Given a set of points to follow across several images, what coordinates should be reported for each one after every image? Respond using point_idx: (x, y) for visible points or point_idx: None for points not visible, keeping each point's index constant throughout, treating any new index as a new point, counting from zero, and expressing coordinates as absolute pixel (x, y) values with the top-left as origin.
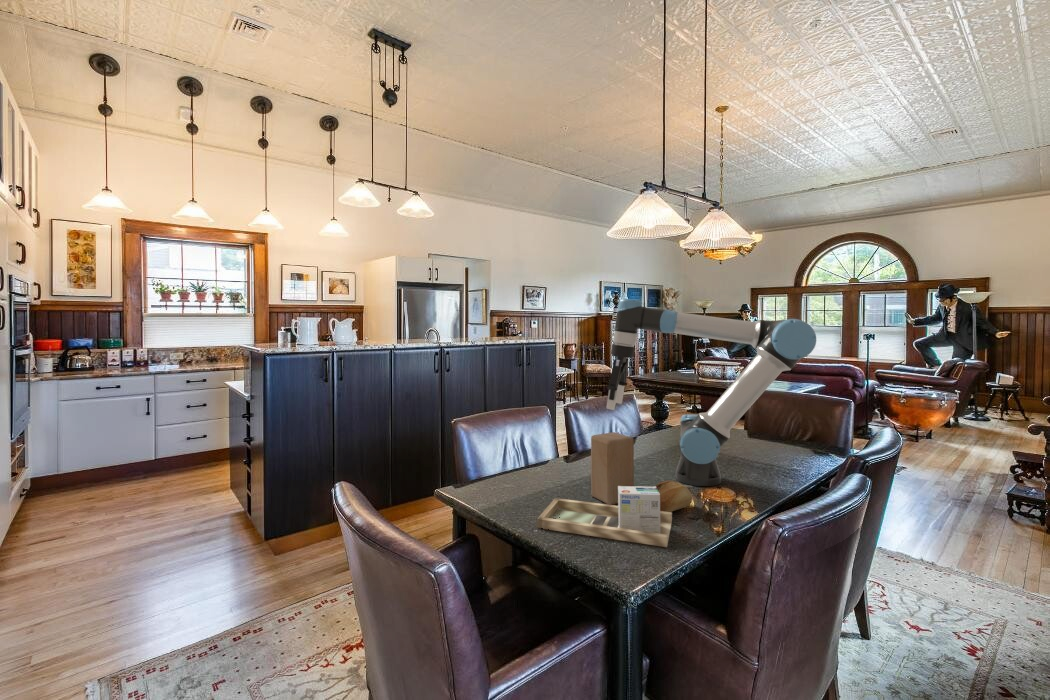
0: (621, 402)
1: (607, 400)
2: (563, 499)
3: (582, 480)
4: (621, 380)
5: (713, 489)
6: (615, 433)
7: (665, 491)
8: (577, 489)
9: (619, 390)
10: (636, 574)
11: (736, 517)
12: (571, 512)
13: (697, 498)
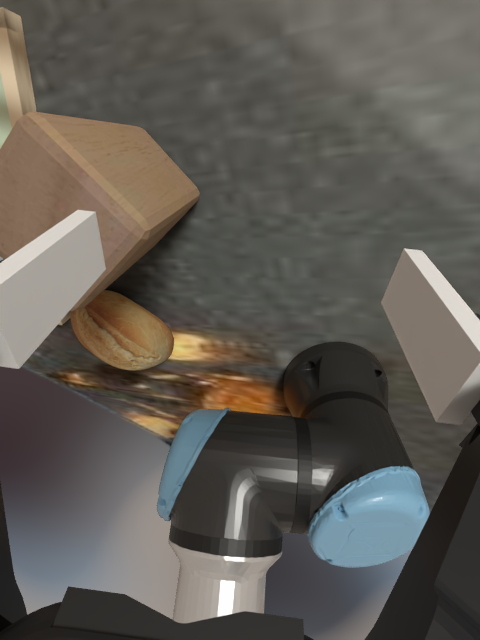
0: (386, 307)
1: (40, 236)
2: (5, 43)
3: (281, 65)
4: (471, 454)
5: (270, 400)
6: (105, 240)
7: (79, 330)
8: (186, 65)
9: (432, 345)
10: None
11: (135, 409)
12: (2, 86)
13: (208, 368)
